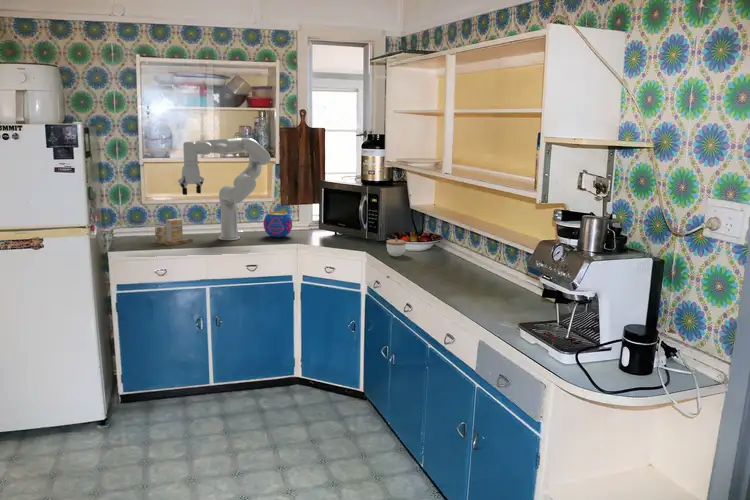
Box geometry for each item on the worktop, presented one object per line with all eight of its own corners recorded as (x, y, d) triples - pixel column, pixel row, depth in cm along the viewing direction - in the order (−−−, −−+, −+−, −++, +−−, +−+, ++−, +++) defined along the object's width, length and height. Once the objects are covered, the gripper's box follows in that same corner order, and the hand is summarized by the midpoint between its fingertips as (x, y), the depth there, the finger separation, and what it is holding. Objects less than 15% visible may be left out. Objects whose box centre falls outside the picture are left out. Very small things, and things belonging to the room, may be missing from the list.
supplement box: (171, 243, 370) (170, 220, 367) (166, 242, 372) (165, 219, 370) (183, 241, 376) (182, 218, 373) (178, 240, 379) (177, 217, 376)
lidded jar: (387, 257, 351) (387, 240, 349) (385, 252, 362) (385, 236, 360) (406, 257, 352) (407, 240, 350) (404, 253, 363) (404, 236, 361)
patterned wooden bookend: (178, 238, 384) (178, 223, 382) (192, 241, 377) (192, 226, 375) (155, 242, 372) (154, 227, 370) (169, 245, 364) (169, 230, 362)
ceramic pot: (294, 234, 407) (294, 211, 404) (290, 240, 390) (290, 215, 387) (266, 233, 407) (266, 210, 404) (261, 239, 390) (260, 214, 387)
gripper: (198, 162, 375) (199, 192, 378) (173, 164, 361) (175, 194, 364) (207, 163, 370) (208, 193, 374) (182, 165, 357) (183, 195, 360)
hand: (191, 193), depth 369 cm, fingers open, 9 cm apart
